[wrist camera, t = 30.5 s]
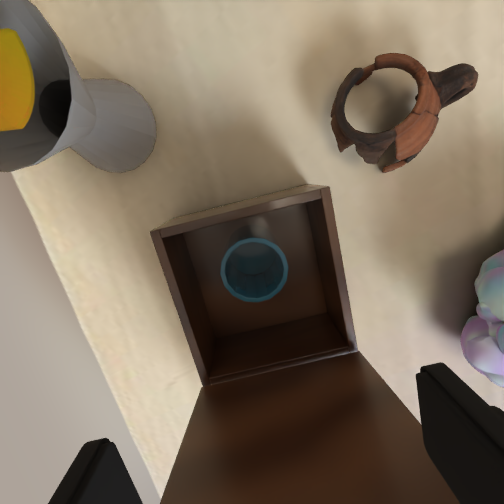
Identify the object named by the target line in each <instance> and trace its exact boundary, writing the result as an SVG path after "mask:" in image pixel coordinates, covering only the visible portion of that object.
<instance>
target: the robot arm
mask: <svg viewBox="0 0 504 504" xmlns="http://www.w3.org/2000/svg"><path fill="white" fill-rule="evenodd" d="M416 382H417V390H418V399H419V407H420V416H421V424H422V433H423V442H424V446H425V449H426V451H427V453H428V455H429V457H430V459H431V460H432V462H433V463H434V465H435V466H436V468H437V469H438V471H439V472H440V474H441V475H442V477H443V478H444V480H445V481H446V483H447V484H448V486H449V487H450V489H451V490H452V492H453V494H454V495H455V497H456V498H457V500H458V501H459V503H460V504H504V411H502V410H501V409H500V408H498V407H495V406H489V405H488V404H487V403H486V402H485V401H484V400H483V399H482V398H481V397H480V396H478V395H477V394H476V393H475V392H474V391H473V390H472V389H471V388H470V387H469V386H468V385H467V384H466V383H465V382H463V381H462V380H461V379H460V378H459V377H458V376H457V375H456V374H455V373H454V372H453V371H452V370H451V369H450V368H449V367H447V366H446V365H445V364H444V363H441V362H440V363H436V364H431V365H427V366H423V367H421V369H420V373H417V374H416ZM48 504H143V503H142V501H141V499H140V497H139V495H138V493H137V490H136V488H135V486H134V484H133V482H132V480H131V477H130V475H129V473H128V471H127V469H126V467H125V465H124V462H123V460H122V458H121V456H120V454H119V452H118V450H117V448H116V445H115V444H114V443H113V442H110V441H109V439H107V438H103V439H99V440H94V441H90V442H87V443H85V444H84V445H83V447H82V448H81V450H80V451H79V453H78V455H77V457H76V458H75V460H74V461H73V463H72V465H71V466H70V468H69V470H68V471H67V473H66V475H65V476H64V478H63V480H62V481H61V483H60V485H59V486H58V488H57V489H56V491H55V493H54V495H53V496H52V498H51V499H50V501H49V503H48Z"/></svg>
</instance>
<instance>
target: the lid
mask: <svg viewBox="0 0 504 504" xmlns="http://www.w3.org/2000/svg"><path fill="white" fill-rule="evenodd" d="M160 504H460V503H459V501H458V500H457V498H456V497H455V495H454V494H453V492H452V490H451V489H450V487H449V486H448V484H447V483H446V481H445V480H444V478H443V477H442V475H441V474H440V472H439V471H438V469H437V468H436V466H435V465H434V463H433V462H432V460H431V459H430V457H429V455H428V453H427V451H426V449H425V446H424V442H423V433H422V425H421V424H420V423H419V422H418V420H417V419H416V418H415V417H414V416H413V414H412V413H411V412H410V411H409V410H408V408H407V407H406V406H405V405H404V404H403V403H402V401H401V400H400V399H399V398H398V397H397V395H396V394H395V393H394V392H393V391H392V389H391V388H390V387H389V386H388V385H387V384H386V382H385V381H384V380H383V379H382V378H381V376H380V375H379V374H378V373H377V372H376V370H375V369H374V368H373V367H372V366H371V365H370V363H369V362H368V361H367V360H366V359H365V357H364V356H363V355H362V354H361V353H360V351H357V352H353V353H348V354H344V355H340V356H335V357H331V358H327V359H322V360H318V361H313V362H309V363H305V364H300V365H296V366H292V367H287V368H283V369H279V370H274V371H270V372H265V373H261V374H257V375H252V376H248V377H244V378H239V379H235V380H231V381H226V382H222V383H217V384H213V385H209V386H204V387H202V388H201V390H200V393H199V396H198V399H197V402H196V404H195V407H194V410H193V413H192V415H191V418H190V421H189V424H188V427H187V429H186V432H185V435H184V438H183V441H182V443H181V446H180V449H179V452H178V454H177V457H176V460H175V463H174V466H173V468H172V471H171V474H170V477H169V479H168V482H167V485H166V488H165V491H164V493H163V496H162V499H161V502H160Z"/></svg>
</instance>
